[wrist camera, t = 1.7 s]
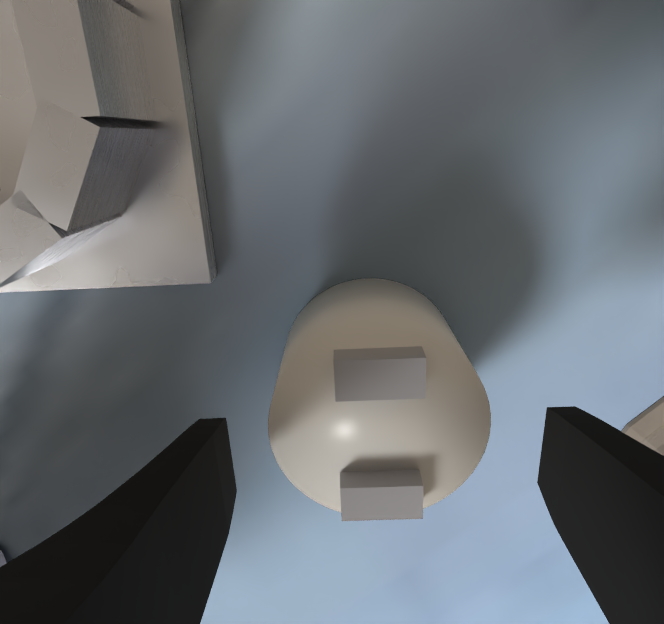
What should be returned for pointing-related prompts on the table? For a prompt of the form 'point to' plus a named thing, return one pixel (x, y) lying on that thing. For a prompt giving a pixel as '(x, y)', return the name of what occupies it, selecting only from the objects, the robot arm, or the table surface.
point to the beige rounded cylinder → (376, 403)
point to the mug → (649, 427)
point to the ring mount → (99, 148)
